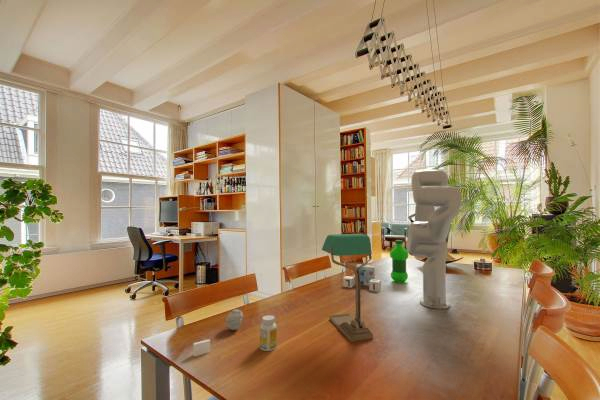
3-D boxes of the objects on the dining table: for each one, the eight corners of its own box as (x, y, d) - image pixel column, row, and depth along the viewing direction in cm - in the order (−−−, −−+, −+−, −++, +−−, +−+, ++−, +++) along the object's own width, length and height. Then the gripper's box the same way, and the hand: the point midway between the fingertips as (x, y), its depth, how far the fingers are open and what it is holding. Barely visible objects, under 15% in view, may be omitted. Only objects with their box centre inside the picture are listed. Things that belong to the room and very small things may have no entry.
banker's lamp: (340, 343, 94) (340, 238, 94) (319, 318, 114) (319, 232, 115) (382, 337, 98) (381, 236, 99) (355, 314, 118) (354, 231, 119)
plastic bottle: (396, 278, 177) (395, 239, 177) (411, 282, 169) (411, 240, 169) (387, 281, 170) (386, 240, 171) (402, 285, 162) (402, 242, 163)
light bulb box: (355, 284, 164) (355, 266, 164) (356, 281, 170) (356, 263, 170) (374, 286, 161) (374, 267, 161) (374, 283, 167) (374, 265, 167)
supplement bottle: (259, 352, 88) (259, 321, 88) (260, 343, 93) (260, 314, 93) (276, 351, 88) (276, 320, 89) (276, 342, 94) (276, 314, 94)
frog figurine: (246, 327, 106) (246, 308, 106) (233, 334, 100) (233, 315, 100) (234, 324, 109) (234, 306, 109) (221, 330, 103) (221, 311, 103)
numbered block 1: (378, 291, 150) (378, 282, 150) (369, 290, 152) (369, 281, 153) (380, 289, 155) (380, 280, 155) (371, 288, 157) (371, 278, 157)
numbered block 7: (351, 288, 157) (351, 279, 157) (343, 286, 160) (343, 277, 160) (354, 285, 162) (354, 277, 162) (346, 284, 164) (346, 275, 164)
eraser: (193, 355, 86) (193, 343, 86) (209, 350, 89) (209, 339, 89) (194, 356, 85) (194, 344, 85) (210, 352, 88) (210, 340, 88)
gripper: (409, 200, 154) (409, 232, 153) (443, 200, 149) (443, 232, 149) (407, 201, 161) (407, 230, 161) (440, 200, 157) (440, 231, 156)
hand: (425, 231), depth 155 cm, fingers open, 9 cm apart
